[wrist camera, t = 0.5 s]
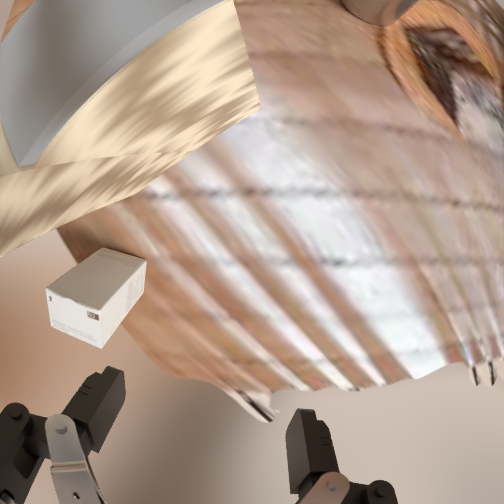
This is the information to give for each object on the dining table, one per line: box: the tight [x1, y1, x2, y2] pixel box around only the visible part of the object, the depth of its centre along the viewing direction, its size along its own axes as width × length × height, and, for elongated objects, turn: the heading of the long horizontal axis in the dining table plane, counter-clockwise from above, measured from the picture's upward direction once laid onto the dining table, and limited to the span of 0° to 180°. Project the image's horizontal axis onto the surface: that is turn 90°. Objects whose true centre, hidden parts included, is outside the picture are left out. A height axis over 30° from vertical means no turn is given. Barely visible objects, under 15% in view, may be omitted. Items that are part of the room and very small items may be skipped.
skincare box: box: [46, 247, 147, 348], centre depth 32 cm, size 8×6×15 cm
